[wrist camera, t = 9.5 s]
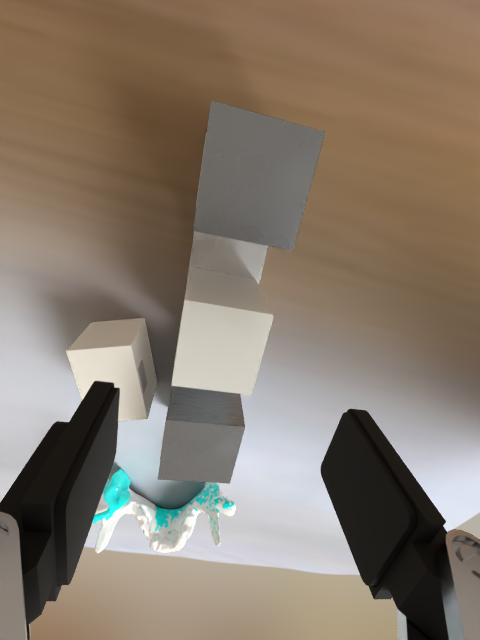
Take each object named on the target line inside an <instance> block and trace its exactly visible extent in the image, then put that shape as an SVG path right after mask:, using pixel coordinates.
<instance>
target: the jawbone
mask: <svg viewBox="0 0 480 640" xmlns="http://www.w3.org/2000/svg"><path fill="white" fill-rule="evenodd" d="M130 482H131V480H130V478H129V477H128V476H127V474H126V472H125V471H123V470H122V469H119V470H118V471H117V472H116V473H114V474H113V475H112V477H111V479H110V481H109V483H107V484H106V486H105V488H104V490H103V493H102V496H101V499H100V502H99V504H98V507H97V510H96V513H95V516H94V519H93V521H92V523H96V522H98V521H100V520H102V527H101V529H100V532H99V535H98V539H97V542H96V545H95V551H96V553H99V552H101V551H102V550H103V549H104V548H105V547H106V546H107V544H108V542H109V540H110V537H111V534H112V532H113V530H114V528H115V525H116V523H117V522H118V520H119V519H120V517H121V516H122V515H123V514H132V515H133V516H134V517H135V518H136V519H137V520H138V521H139V526H140V528H141V529H143V533H144V534H145V536H147V539H148V540H150V548H151V549H152V550H155V551H157V552H161V553H168V552H173V551H178V550H181V548H183V546H184V545H185V542H186V540H187V538H189V537H190V536H191V534H192V532H193V528H194V525H195V523H196V518H197V515H198V514H199V513H200V512H203V513H205V514H206V515H207V516H208V519H209V522H210V527H211V532H212V537H213V540H214V543H215V544H216V545H217V546H219V545H220V544H221V538H220V534H219V531H220V529H219V511H220V512H221V513H223V514H225V515H227V516H232V515H233V514H234V513H235V510H236V505H235V503H234V502H233V501H232V500H231V499H230V498H229V497H228V496H227V495H226V494H225V492H224V491H223V490H222V488H221V486H220V484H219V483H212V482H206V484H205V487H204V488H203V490H202V491H201V492H200V493H199V494H198V495H197V496H195V497H194V498H193V499H192V500H191V501H190V502H189V503H187V504H186V505H185V506H183V507H182V508H179V509H165V508H164V509H162V508H160V507H158V506H156V505H154V504H153V503H151V502H150V501H149V500H147V499H145V498H144V497H142V496H140V495H138V494H136V493H134V492H133V491H132V490H131V489H130V488H129V485H130Z"/></svg>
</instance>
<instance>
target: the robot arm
mask: <svg viewBox="0 0 480 640" xmlns="http://www.w3.org/2000/svg"><path fill="white" fill-rule="evenodd" d="M119 398H120V388H115V387H114V383H112V382H103V381H94V382H93V384H92V385H91V387H90V389H89V390H88V392H87V394H86V395H85V397H84V399H83V400H82V402H81V404H80V405H79V407H78V408H77V410H76V412H75V413H74V415H73V417H72V418H71V420H70V422H58V421H57V422H55V423H54V424H53V425H52V427H51V428H50V429H49V431H48V432H47V434H46V435H45V437H44V438H43V440H42V441H41V443H40V444H39V446H38V447H37V449H36V450H35V452H34V453H33V455H32V456H31V458H30V459H29V461H28V462H27V464H26V465H25V467H24V468H23V470H22V471H21V473H20V474H19V476H18V477H17V479H16V480H15V482H14V483H13V485H12V486H11V488H10V489H9V491H8V492H7V494H6V495H5V497H4V498H3V500H2V501H1V503H0V640H31V635H30V623H31V622H32V621H34V620H35V619H36V618H37V617H38V616H40V615H41V614H42V611H43V609H44V606H45V604H46V601H56V599H57V596H58V594H59V591H60V589H61V586H62V585H69V584H70V582H71V580H72V577H73V575H74V572H75V569H76V567H77V564H78V561H79V558H80V555H81V553H82V550H83V547H84V544H85V541H86V538H87V536H88V533H89V530H90V527H91V524H92V521H93V519H94V516H95V513H96V510H97V507H98V504H99V502H100V499H101V496H102V493H103V490H104V487H105V485H106V482H107V479H108V476H109V473H110V471H111V468H112V465H113V462H114V459H115V454H116V446H117V430H118V414H119ZM321 475H322V478H323V481H324V483H325V486H326V488H327V491H328V494H329V496H330V499H331V501H332V504H333V506H334V509H335V511H336V514H337V517H338V519H339V522H340V524H341V527H342V529H343V532H344V534H345V537H346V540H347V542H348V545H349V547H350V550H351V552H352V555H353V557H354V560H355V563H356V565H357V568H358V570H359V573H360V575H361V578H362V580H363V582H364V583H365V584H366V585H368V586H369V588H370V591H371V593H372V595H373V598H374V599H391V598H392V597H393V600H394V602H395V604H396V606H397V624H398V640H480V539H478V538H476V537H474V536H473V535H471V534H470V533H467V532H464V531H462V530H456V529H453V530H450V531H448V533H447V531H446V530H445V528H444V527H443V525H444V524H445V522H446V521H445V520H444V518H443V517H442V515H441V514H440V513H439V511H438V510H437V508H436V507H435V506H434V504H433V503H432V501H431V500H430V499H429V497H428V496H427V494H426V493H425V492H424V490H423V489H422V487H421V486H420V485H419V483H418V482H417V480H416V479H415V477H414V476H413V475H412V473H411V472H410V470H409V469H408V468H407V466H406V465H405V463H404V462H403V461H402V459H401V458H400V456H399V455H398V454H397V452H396V451H395V449H394V448H393V447H392V445H391V444H390V442H389V441H388V440H387V438H386V437H385V435H384V434H383V433H382V431H381V430H380V428H379V427H378V426H377V424H376V423H375V421H374V420H373V419H372V417H371V416H370V414H369V413H368V412H367V411H365V410H357V409H349V410H348V411H347V412H345V413H343V415H342V417H341V420H340V422H339V424H338V427H337V429H336V431H335V434H334V436H333V438H332V441H331V443H330V446H329V448H328V450H327V453H326V455H325V457H324V460H323V462H322V465H321Z"/></svg>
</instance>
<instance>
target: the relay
mask: <svg viewBox="0 0 480 640" xmlns="http://www.w3.org/2000/svg"><path fill="white" fill-rule="evenodd" d="M66 353H67V356H68V359H69V362H70V365H71V368H72V371H73V374H74V377H75V380H76V383H77V386H78V389H79V392H80V395H81V398H82V400H83V399H84V397H85V395H86V394H87V392H88V390H89V389H90V387H91V385H92V384H93V382H94V381H103V382H112V383H114V387H115V388H120V398H119V414H118V422H120V421H130V420H139V419H148V415H149V411H150V408H151V404H152V400H153V396H154V393H155V389H156V385H157V378H156V373H155V368H154V363H153V358H152V352H151V347H150V342H149V337H148V332H147V327H146V322H145V318H137V319H124V320H112V321H99V322H91V323H90V324H89V325H88V327H87V328H86V329H85V330H84V331H83V332H82V333H81V334H80V336H79V337H78V338H77V339H76V340H75V341H74V342H73V344H72V345H71V346H70V347H69V348H68V349H67V350H66Z"/></svg>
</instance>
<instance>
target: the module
mask: <svg viewBox="0 0 480 640" xmlns="http://www.w3.org/2000/svg"><path fill="white" fill-rule="evenodd" d="M273 318H274V313H273V312H272V310H271V308H270V306H269V304H268V302H267V300H266V298H265V296H264V294H263V292H262V290H261V288H260V287H259V285H258V283H257V281H256V279H251V278H246V277H240V276H235V275H230V274H225V273H219V272H214V271H209V270H203V269H198V268H193V267H192V268H191V273H190V277H189V282H188V286H187V291H186V295H185V300H184V305H183V309H182V315H181V321H180V328H179V334H178V341H177V347H176V354H175V360H174V371H173V377H172V384H171V386H179V387H187V388H196V389H204V390H212V391H221V392H229V393H238V394H246V395H252V392H253V389H254V385H255V382H256V378H257V374H258V371H259V367H260V364H261V360H262V357H263V353H264V350H265V346H266V343H267V339H268V335H269V332H270V328H271V325H272V321H273Z"/></svg>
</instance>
